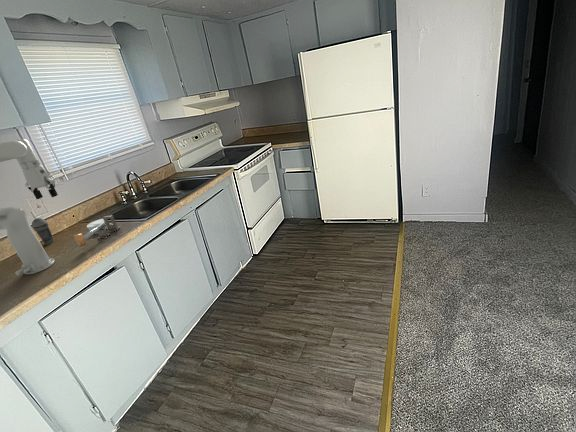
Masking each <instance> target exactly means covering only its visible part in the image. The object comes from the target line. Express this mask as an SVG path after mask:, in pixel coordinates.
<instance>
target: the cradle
mask: <svg viewBox="0 0 576 432" xmlns="http://www.w3.org/2000/svg"><path fill="white" fill-rule="evenodd" d="M107 231H108V230H106V229H101V230H99V231H98V233H97V234H98V237H97V240H102V239H101V238H104V239H107V238H108V237H110V236H111V235H110V234H111V233H107ZM109 235H110V236H109ZM107 236H108V237H107ZM106 237H107V238H106Z"/></svg>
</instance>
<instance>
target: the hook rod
mask: <svg viewBox="0 0 576 432" xmlns="http://www.w3.org/2000/svg"><path fill="white" fill-rule="evenodd" d="M105 226H106V224H105V223H102V224H100V225H99V226H97V227H96V228H94V229H93V230H91V231H90V230H89V231H88V232H86V233H85V234H83V233H82V232H81V233H80V232H79V233H77V234H75V235H74V236H73V238H74V240H75V241H76V244H77V245H78V247H79V248H82V247H85V246H86V245H88V243H87V241H86V240H88V239H90V237H92V236H94V235H95V233H96V232H98V231H99V230H101V229H103V228H104V227H105Z"/></svg>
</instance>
